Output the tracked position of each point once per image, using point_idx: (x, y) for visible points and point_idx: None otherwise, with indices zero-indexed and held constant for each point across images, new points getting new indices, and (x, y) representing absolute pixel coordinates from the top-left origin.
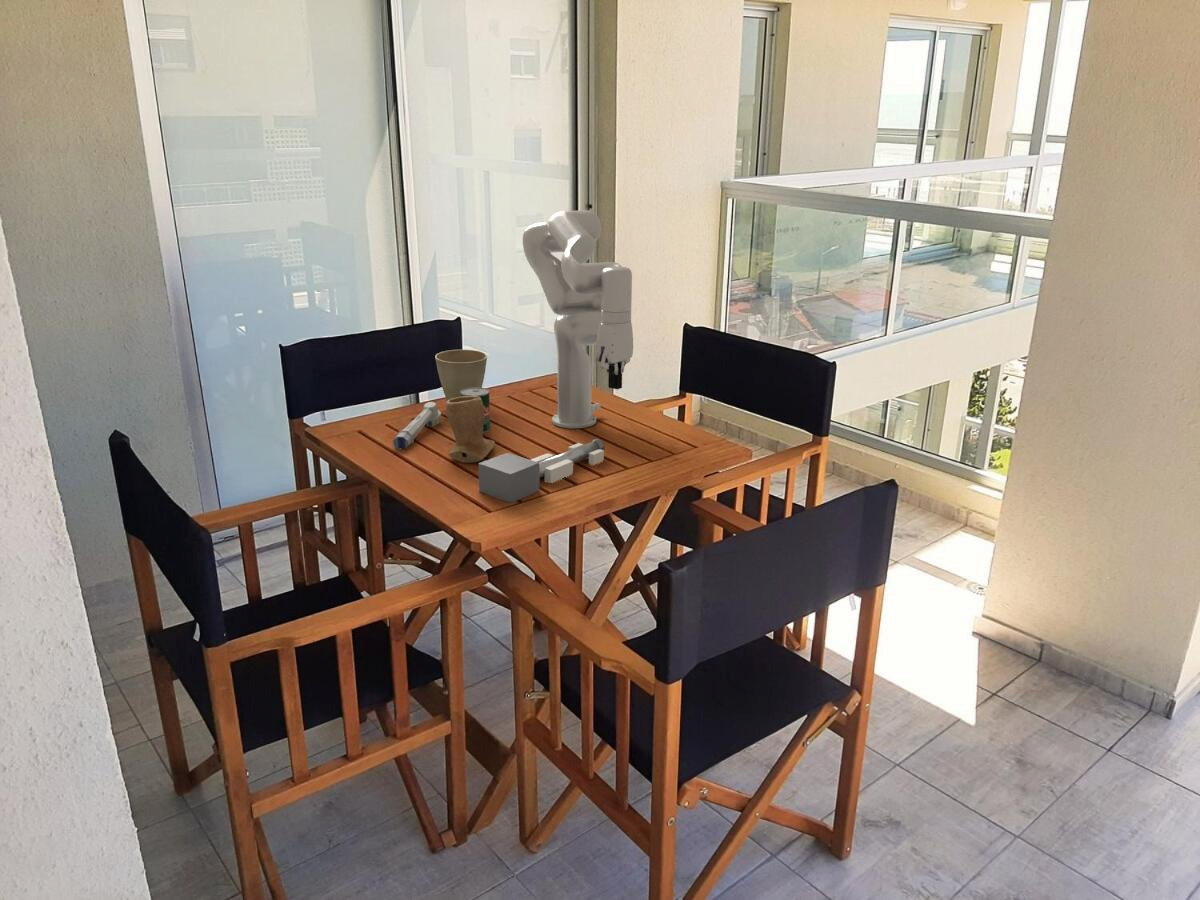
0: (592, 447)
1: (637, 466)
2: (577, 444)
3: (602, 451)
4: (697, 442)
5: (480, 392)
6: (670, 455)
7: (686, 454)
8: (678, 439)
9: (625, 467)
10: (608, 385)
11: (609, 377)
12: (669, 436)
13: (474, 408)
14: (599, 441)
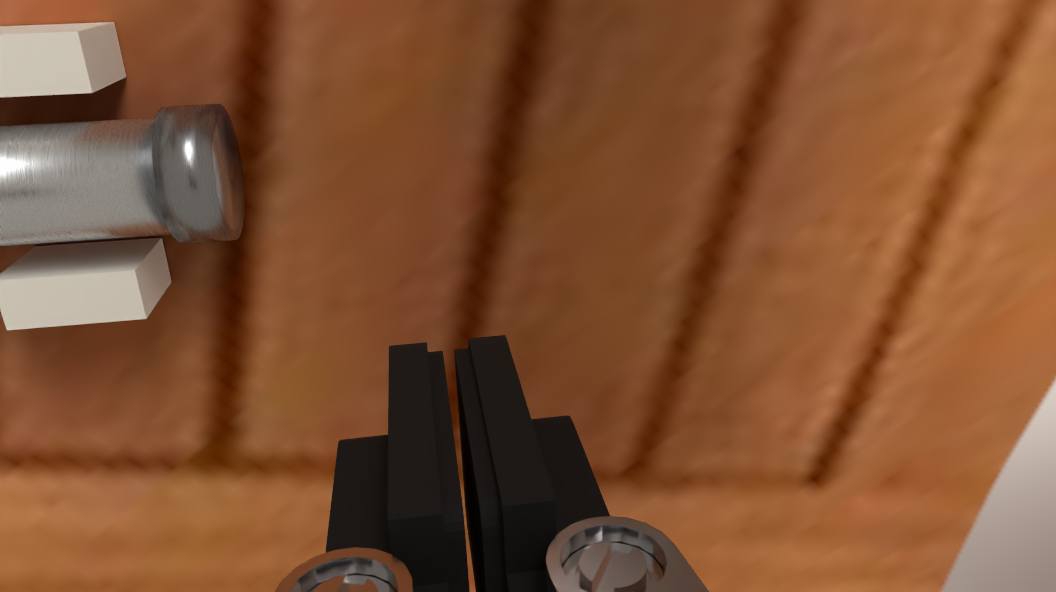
0: (82, 236)
1: (298, 475)
2: (41, 53)
3: (127, 319)
4: (899, 435)
5: None
6: (602, 475)
7: (678, 518)
8: (887, 329)
9: (222, 442)
10: (389, 356)
11: (329, 534)
12: (909, 253)
13: None
14: (193, 222)
